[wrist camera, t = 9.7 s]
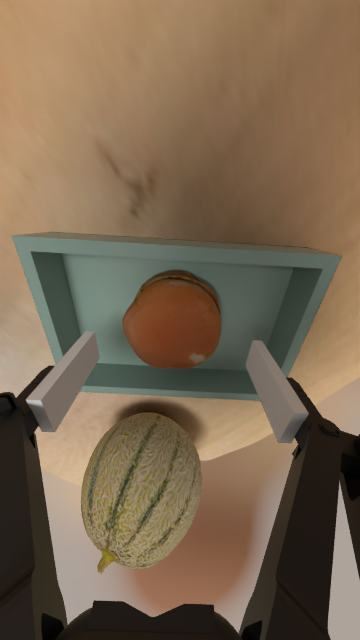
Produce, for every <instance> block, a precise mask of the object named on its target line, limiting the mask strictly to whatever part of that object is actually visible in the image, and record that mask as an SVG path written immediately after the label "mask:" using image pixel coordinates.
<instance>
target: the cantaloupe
mask: <svg viewBox="0 0 360 640" xmlns="http://www.w3.org/2000/svg"><path fill="white" fill-rule="evenodd" d="M201 483H202V477H201V464H200V459H199V455H198V452H197V450H196V448H195V446H194V444H193V442H192V439H191V438H190V436H189V434H188V433H187V432H186V431H185V430H184V429H183V428H182V427H181V426H180V425H178V424H177V423H176V422H175V421H173V420H172V419H170V418H168V417H166V416H163V415H161V414H158V413H139V414H135V415H131V416H129V417H127V418H125V419H123V420H121V421H120V422H118V423H117V424H115V425H114V426H113V427H112V428H111V429H110V430H109V431H107V432H106V433H105V434H104V436H103V437H102V439H101V440H100V441H99V443H98V444H97V446H96V448H95V450H94V451H93V453H92V456H91V458H90V460H89V463H88V466H87V468H86V471H85V474H84V479H83V483H82V493H81V510H82V518H83V522H84V526H85V529H86V532H87V534H88V536H89V538H90V539H91V540H92V542H93V543H94V545H95V546H96V547H97V548H98V549H99V550H100V551H101V552H102V558H101V560H100V562H99V564H98V566H97V567H98V572H99V573H101V574H102V573H103V571H104V569H105V568H106V567H107V566H108V565H109V564H110V563H111V562H113V561H115V562H116V563H118V564H120V565H124V566H127V567H129V568H133V569H143V568H147V567H150V566H152V565H155V564H157V563H158V562H160V561H161V560H162V559H163V558H165V557H166V556H168V555H169V554H170V552H171V551H172V550H173V549H174V548H175V547H176V546H177V544H178V543H179V542H180V541H181V540H182V538H183V537H184V536H185V534H186V532H187V531H188V529H189V527H190V525H191V523H192V522H193V518H194V516H195V512H196V510H197V507H198V504H199V500H200V495H201Z"/></svg>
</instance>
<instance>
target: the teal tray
mask: <svg viewBox="0 0 360 640" xmlns="http://www.w3.org/2000/svg"><path fill="white" fill-rule="evenodd" d="M12 238H13V241H14V244H15V247H16V250H17V253H18V255H19V258H20V261H21V264H22V267H23V270H24V273H25V276H26V279H27V282H28V285H29V288H30V290H31V293H32V296H33V299H34V302H35V305H36V308H37V311H38V314H39V317H40V320H41V322H42V325H43V328H44V331H45V334H46V337H47V340H48V343H49V346H50V349H51V352H52V354H53V357H54V360H55V363H56V364H57V363H58V362H59V361H60V360H61V359H62V357H63V356H64V355H65V354H66V353H67V352H68V351H69V349H70V348H71V347H72V346H73V345H74V344H75V343H76V341H77V340H78V339H79V338H80V337H81V336H82V334H83V333H84V332H85V331H93V332H95V335H96V341H97V346H98V351H99V356H100V358H99V360H98V362H97V363H96V365H95V366H94V368H93V370H92V371H91V373H90V375H89V376H88V378H87V380H86V381H85V383H84V385H83V386H82V388H81V390H80V391H79V392H95V393H115V394H135V395H155V396H175V397H195V398H215V399H235V400H255V401H260V399H259V396H258V394H257V392H256V389H255V387H254V384H253V382H252V380H251V377H250V375H249V373H248V370H247V368H246V366H245V365H246V361H247V358H248V355H249V351H250V348H251V344H252V341H253V340H259V341H262V342H263V343H264V345H265V346H266V348H267V349H268V351H269V353H270V354H271V356H272V357H273V359H274V360H275V362H276V363H277V365H278V367H279V368H280V370H281V371H282V373H283V374H284V376H285V377H286V378H287V377H288V375H289V373H290V370H291V368H292V366H293V364H294V361H295V359H296V357H297V355H298V353H299V350H300V348H301V346H302V344H303V342H304V339H305V337H306V335H307V333H308V330H309V328H310V326H311V324H312V322H313V319H314V317H315V315H316V313H317V311H318V308H319V306H320V304H321V302H322V299H323V297H324V295H325V293H326V291H327V288H328V286H329V284H330V282H331V279H332V277H333V275H334V273H335V271H336V268H337V266H338V264H339V262H340V260H341V257H342V256H341V255H337V254H332V253H328V252H324V251H319V250H315V249H311V248H306V247H290V246H274V245H257V244H241V243H225V242H208V241H192V240H176V239H159V238H143V237H127V236H110V235H94V234H78V233H61V232H44V233H34V234H24V235H14V236H12ZM167 271H185V272H187V273H189V274H191V275H192V276H193V277H195V278H196V279H198V280H200V281H201V282H203V283H205V284H206V285H208V286H209V287H210V288H212V290H213V293H215V294H216V297H217V298H218V300H219V304H220V305H221V315H220V317H221V327H222V329H221V336H220V340H219V344H218V346H217V348H216V349H215V351H214V352H213V354H212V355H211V356H210V357H209V358H208V359H206V360H205V361H204V362H202V363H201V364H200V365H198V366H195V367H192V368H181V369H176V368H169V369H160V368H155V367H151V366H150V365H148V364H146V363H145V362H144V361H142V360H141V359H140V358H139V357H138V356H137V355H136V353H135V352H134V350H133V349H132V347H131V345H130V344H129V342H128V340H127V338H126V336H125V333H124V330H123V325H122V319H123V317H124V315H125V313H126V311H127V309H128V308H129V307H130V305H131V304H132V303H133V301H134V299H135V297H136V295H137V293H138V291H139V289H140V288H141V286H142V285H143V284H144V283H145V282H146V281H147V280H148V279H150V278H152V277H153V276H154V275H156V274H159V273H162V272H167Z"/></svg>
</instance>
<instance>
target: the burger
mask: <svg viewBox="0 0 360 640" xmlns="http://www.w3.org/2000/svg"><path fill="white" fill-rule="evenodd" d="M220 315H221V305H220V304H219V300H218V298H217V297H216V294H215V293H213V290H212V288H210V287H209V286H208V285H206V284H205V283H203V282H201V281H200V280H198V279H196V278H195V277H193V276H192V275H191V274H189V273H187V272H185V271H167V272H162V273H159V274H156V275H154V276H153V277H152V278H150V279H148V280H147V281H146V282H145V283H144V284H143V285H142V286H141V288H140V289H139V291H138V293H137V295H136V297H135V299H134V301H133V303H132V304H131V305H130V307H129V308H128V309H127V311H126V313H125V315H124V317H123V319H122V325H123V330H124V333H125V336H126V338H127V340H128V342H129V344H130V345H131V347H132V349H133V350H134V352H135V353H136V355H137V356H138V357H139V358H140V359H141V360H142V361H144V362H145V363H146V364H148V365H150V366H151V367H155V368H160V369H169V368H176V369H181V368H192V367H195V366H198V365H200V364H201V363H202V362H204V361H205V360H206V359H208V358H209V357H210V356H211V355H212V354H213V352H214V351H215V349H216V348H217V346H218V344H219V340H220V336H221V329H222V327H221V317H220Z"/></svg>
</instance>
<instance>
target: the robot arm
mask: <svg viewBox="0 0 360 640" xmlns="http://www.w3.org/2000/svg"><path fill="white" fill-rule="evenodd" d="M99 358H100V356H99V351H98V346H97V341H96V335H95V332H93V331H85V332H84V333H83V334H82V336H81V337H80V338H79V339H78V340H77V341H76V343H75V344H74V345H73V346H72V347H71V348H70V349H69V351H68V352H67V353H66V354H65V355H64V356H63V357H62V359H61V360H60V361H59V362H58V363H57V364H56V365H55V366H48V367H47V368H45V369H44V370H42V371H41V372H40V373H39V374H38V375H37V376H36V378H34V379H33V381H32V382H31V384H29V385H28V386H27V387H26V388H25V389H24V390H23V391H22V392H21V393H20V394H19V396H18V397H17V398H15V396H14V394H13V393H10V392H4V393H0V640H331V639H330V637H329V634H328V611H329V600H330V599H329V598H330V588H331V587H330V586H331V574H332V563H333V551H334V539H335V527H336V514H337V503H338V491H339V480H340V485H341V490H342V495H343V499H344V504H345V509H346V514H347V519H348V524H349V529H350V534H351V539H352V544H353V548H354V554H355V559H356V563H357V568H358V573H359V578H360V434H359V436H355V435H352V434H349V433H346V432H343V431H340V430H339V428H338V427H337V426H336V425H335V424H334V423H332V422H331V421H329V420H327V419H324V418H323V417H322V416H321V415H320V413H319V412H318V410H317V409H316V407H315V406H314V404H313V403H312V402H311V400H310V399H309V397H307V395H306V393H305V392H304V390H303V389H302V387H301V386H300V385H299V383H297V382H296V381H295V380H294V379H293V378H286V377H285V376H284V374H283V373H282V371H281V370H280V368H279V367H278V365H277V363H276V362H275V360H274V359H273V357H272V356H271V354H270V353H269V351H268V349H267V348H266V346H265V345H264V343H263V342H262V341H259V340H253V341H252V344H251V348H250V351H249V355H248V358H247V361H246V365H245V366H246V368H247V370H248V373H249V375H250V377H251V380H252V382H253V384H254V387H255V389H256V392H257V394H258V396H259V399H260V401H261V403H262V406H263V408H264V410H265V413H266V415H267V417H268V420H269V422H270V425H271V427H272V429H273V432H274V434H275V436H276V439H277V441H278V443H292V441H293V439H294V438H295V439H296V441H297V443H298V445H297V447H296V449H295V450H294V452H293V453H292V455H293V456H294V457H293V461H292V464H291V468H290V471H289V474H288V477H287V481H286V484H285V488H284V491H283V494H282V498H281V501H280V505H279V508H278V512H277V515H276V518H275V522H274V525H273V529H272V532H271V536H270V539H269V542H268V546H267V549H266V553H265V556H264V559H263V563H262V566H261V570H260V573H259V577H258V580H257V583H256V586H255V590H254V592H253V595H252V597H251V599H250V601H249V603H248V606H247V608H246V611H245V615H244V618H243V621H242V624H241V628H240V631H239V634H238V633H237V631H236V630H235V629H234V627H233V626H232V625H231V624H230V623H229V622H228V621H227V620H226V619H225V618H224V617H222V616H221V615H220V614H218V613H216V612H215V611H214V605H203V604H183V605H181V606H179V607H176V608H174V609H172V610H170V611H168V612H165V613H163V614H161V615H159V616H156V617H150V616H148V615H146V614H145V613H143V612H141V611H139V610H137V609H136V608H134V607H132V606H130V605H129V604H127V603H125V602H121V601H94V602H93V607H92V608H90V609H88V610H86V611H85V612H83V613H82V614H80V615H79V616H78V617H77V618H75V619H74V620H73V621H72V622H70V624H69V625H68V624H67V618H66V611H65V606H64V601H63V597H62V594H61V591H60V588H59V585H58V581H57V574H56V567H55V561H54V554H53V547H52V541H51V534H50V527H49V521H48V514H47V507H46V501H45V495H44V487H43V481H42V474H41V467H40V460H39V454H38V447H37V440H36V435H35V433H34V432H35V430H36V429H37V427H38V426H39V427H40V429H41V431H42V432H55V431H56V430H57V428H58V426H59V425H60V423H61V421H62V420H63V418H64V416H65V415H66V413H67V411H68V410H69V408H70V406H71V405H72V403H73V401H74V400H75V398H76V396H77V395H78V393H79V391H80V390H81V388H82V386H83V385H84V383H85V381H86V380H87V378H88V376H89V375H90V373H91V371H92V370H93V368H94V366H95V365H96V363H97V362H98V360H99Z"/></svg>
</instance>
